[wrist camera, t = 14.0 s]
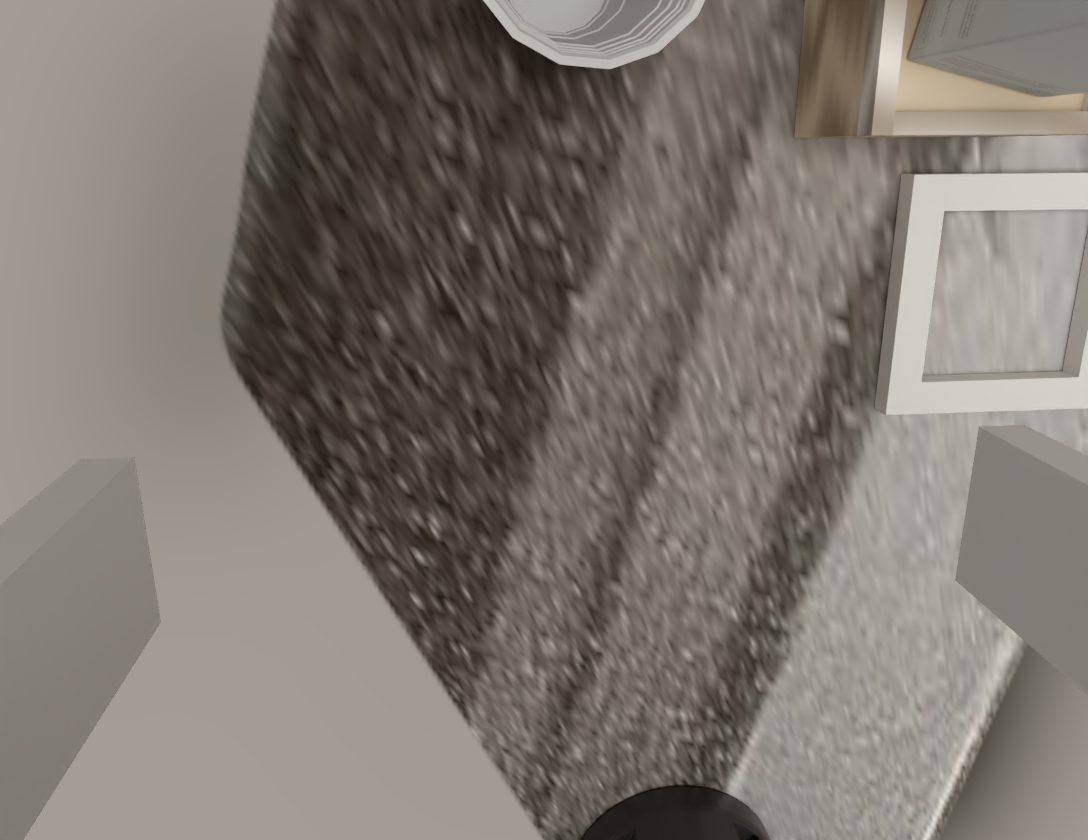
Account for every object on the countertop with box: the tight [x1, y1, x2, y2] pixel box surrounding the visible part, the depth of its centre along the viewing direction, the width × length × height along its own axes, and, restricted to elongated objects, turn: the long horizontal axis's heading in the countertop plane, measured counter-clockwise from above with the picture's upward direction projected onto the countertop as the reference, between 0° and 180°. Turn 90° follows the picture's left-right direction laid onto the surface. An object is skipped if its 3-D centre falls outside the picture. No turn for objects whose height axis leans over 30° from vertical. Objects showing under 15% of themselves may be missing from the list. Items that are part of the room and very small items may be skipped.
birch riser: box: [794, 0, 1088, 138], centre depth 42 cm, size 12×12×10 cm
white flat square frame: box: [875, 172, 1088, 415], centre depth 51 cm, size 14×14×2 cm
